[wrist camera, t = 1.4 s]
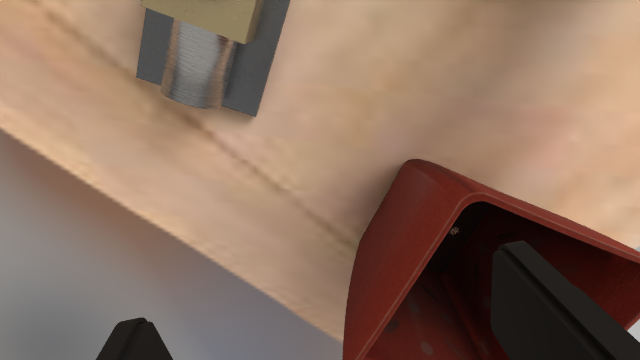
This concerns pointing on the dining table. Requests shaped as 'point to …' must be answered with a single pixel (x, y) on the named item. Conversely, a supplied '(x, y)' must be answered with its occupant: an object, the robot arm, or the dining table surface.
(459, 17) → the dining table surface
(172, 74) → the valve body
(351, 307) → the plant pot
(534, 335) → the robot arm
